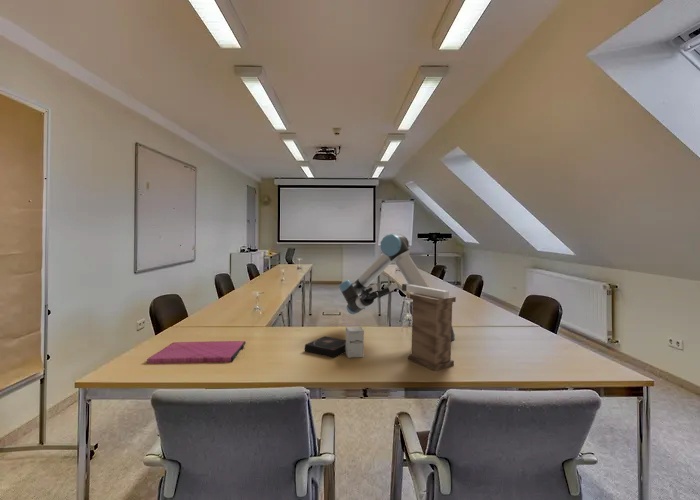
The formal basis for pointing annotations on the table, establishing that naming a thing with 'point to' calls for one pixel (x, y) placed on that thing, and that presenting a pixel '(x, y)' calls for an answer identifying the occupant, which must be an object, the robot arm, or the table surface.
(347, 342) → the supplement box
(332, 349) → the portable cd player
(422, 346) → the stand
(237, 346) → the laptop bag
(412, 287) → the white long bar
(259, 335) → the table surface
